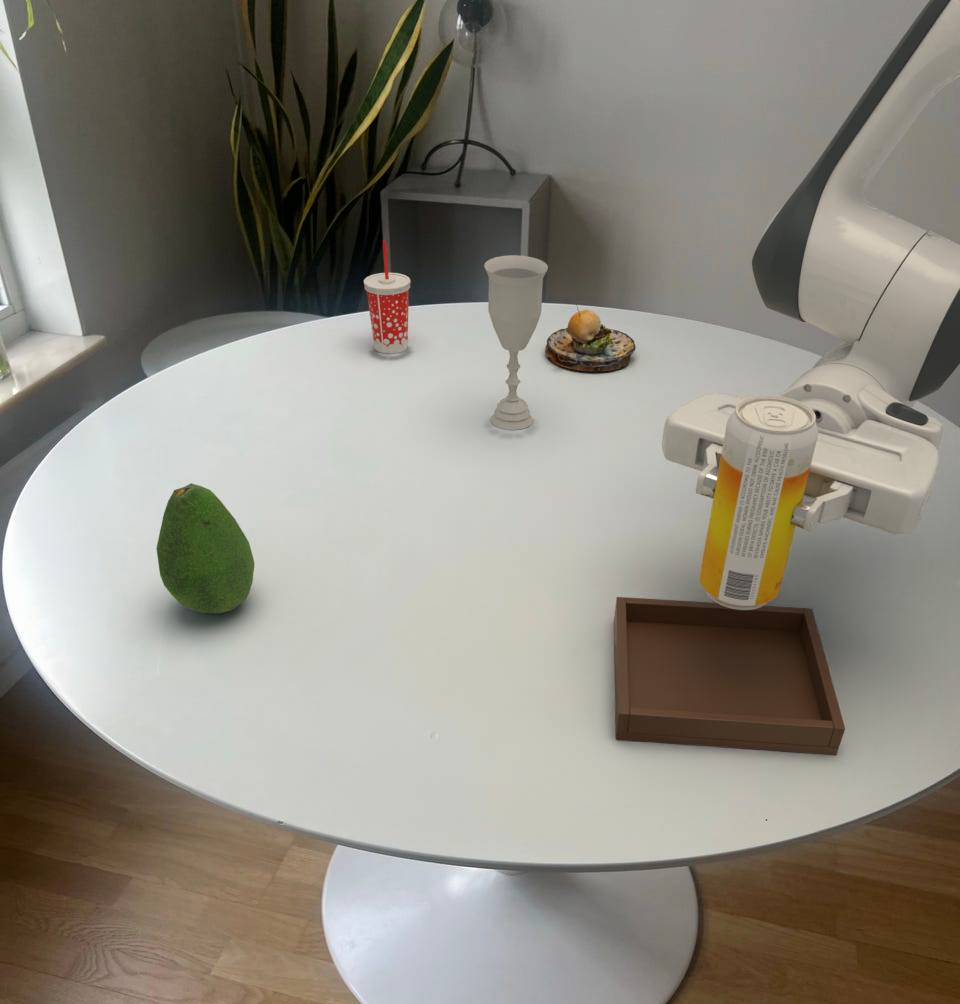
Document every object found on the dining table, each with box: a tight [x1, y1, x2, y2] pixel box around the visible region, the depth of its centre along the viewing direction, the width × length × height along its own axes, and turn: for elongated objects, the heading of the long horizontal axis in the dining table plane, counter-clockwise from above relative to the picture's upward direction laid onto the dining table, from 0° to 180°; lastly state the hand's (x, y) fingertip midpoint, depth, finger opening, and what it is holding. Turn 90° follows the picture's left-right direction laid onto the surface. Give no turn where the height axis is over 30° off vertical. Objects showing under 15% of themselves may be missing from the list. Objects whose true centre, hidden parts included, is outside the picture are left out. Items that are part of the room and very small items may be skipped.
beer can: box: [699, 394, 818, 610], centre depth 70 cm, size 6×6×15 cm
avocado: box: [156, 482, 255, 615], centre depth 83 cm, size 8×8×12 cm
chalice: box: [483, 254, 549, 431], centre depth 109 cm, size 7×7×18 cm
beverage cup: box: [363, 239, 412, 355], centre depth 127 cm, size 6×6×14 cm
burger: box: [545, 303, 637, 372], centre depth 127 cm, size 12×12×8 cm
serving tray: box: [613, 596, 846, 756], centre depth 78 cm, size 17×15×3 cm
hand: (752, 503), depth 69 cm, fingers closed on beer can, 6 cm apart
